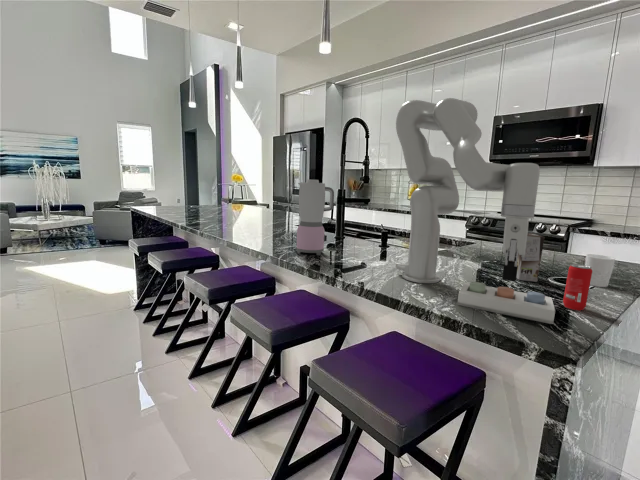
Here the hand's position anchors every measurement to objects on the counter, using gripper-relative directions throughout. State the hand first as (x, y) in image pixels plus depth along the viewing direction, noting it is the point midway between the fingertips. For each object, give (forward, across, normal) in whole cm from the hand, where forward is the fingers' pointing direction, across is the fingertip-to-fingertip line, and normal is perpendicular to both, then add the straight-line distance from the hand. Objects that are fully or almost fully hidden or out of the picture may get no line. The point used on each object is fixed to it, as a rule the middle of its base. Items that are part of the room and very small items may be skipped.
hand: (509, 279), depth 92 cm
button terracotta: (+5, 0, +1) cm, 5 cm away
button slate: (+5, 0, -6) cm, 8 cm away
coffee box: (+8, +40, -4) cm, 41 cm away
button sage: (+5, 0, +8) cm, 9 cm away
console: (+8, 0, +1) cm, 8 cm away
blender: (+6, +25, +77) cm, 81 cm away
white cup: (+8, +47, -26) cm, 55 cm away
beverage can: (+8, +12, -16) cm, 22 cm away
